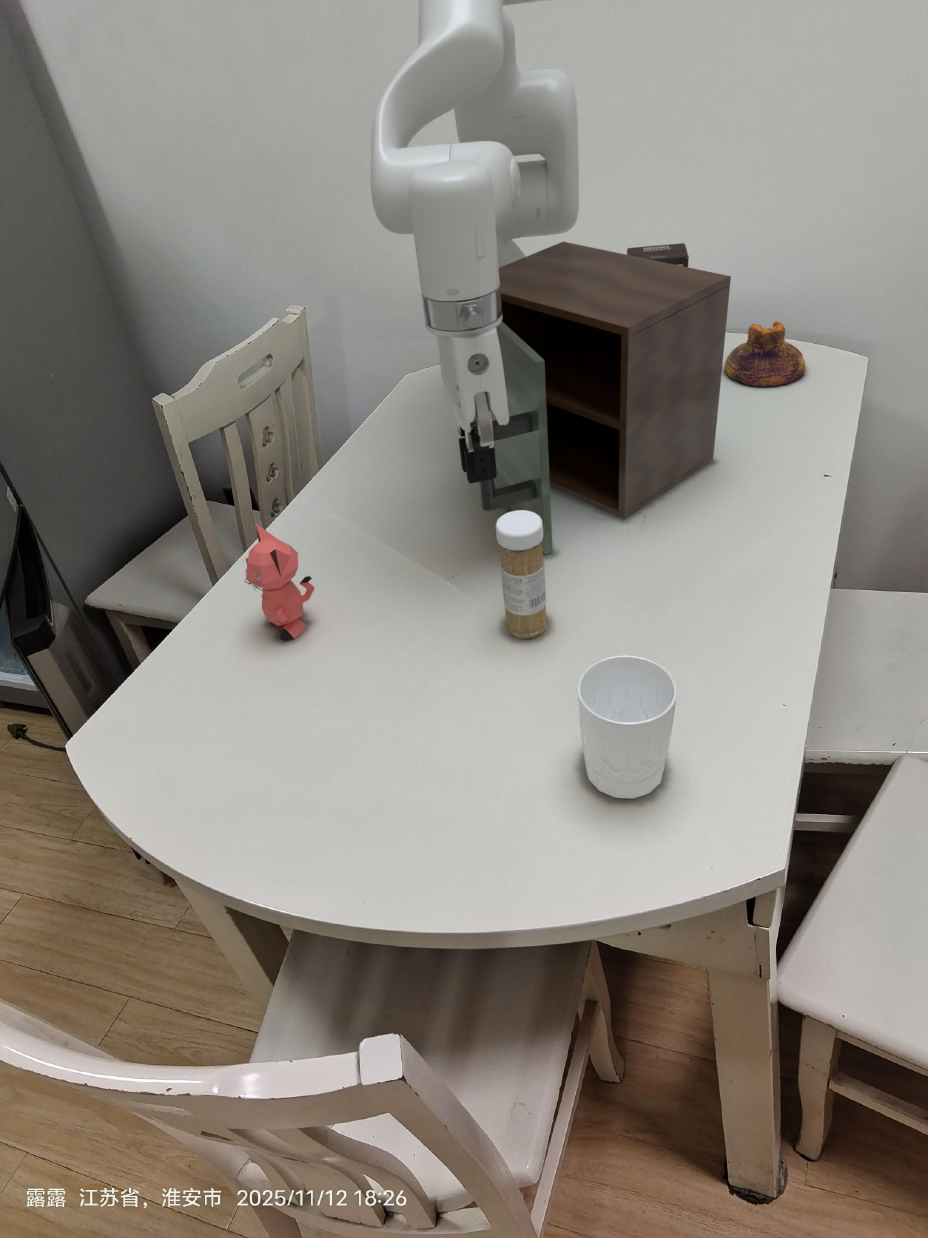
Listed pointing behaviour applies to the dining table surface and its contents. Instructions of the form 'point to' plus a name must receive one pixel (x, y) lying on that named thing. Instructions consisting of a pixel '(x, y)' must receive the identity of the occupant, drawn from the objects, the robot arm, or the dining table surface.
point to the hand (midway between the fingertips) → (479, 473)
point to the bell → (765, 358)
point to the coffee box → (663, 253)
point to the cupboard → (621, 368)
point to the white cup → (626, 723)
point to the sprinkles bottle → (522, 572)
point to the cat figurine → (278, 583)
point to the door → (521, 437)
